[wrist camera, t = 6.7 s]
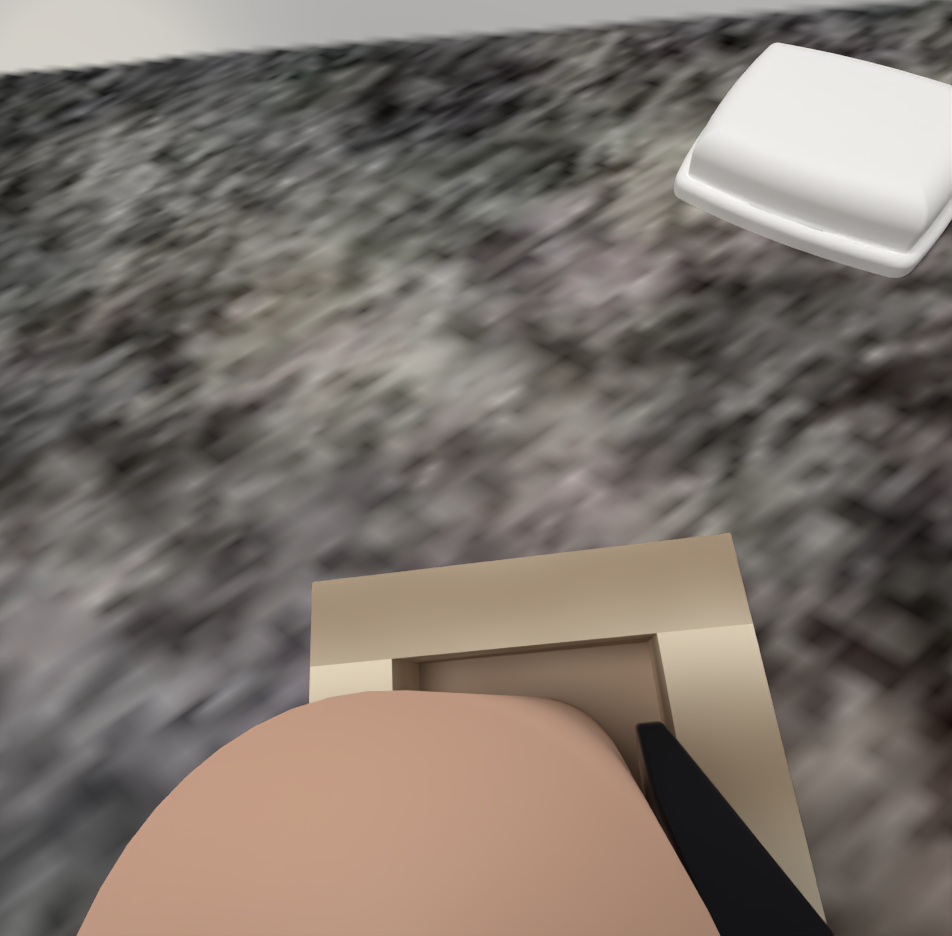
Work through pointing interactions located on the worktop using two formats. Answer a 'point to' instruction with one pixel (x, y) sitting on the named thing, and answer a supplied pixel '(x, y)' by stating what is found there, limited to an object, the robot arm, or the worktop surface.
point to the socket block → (585, 657)
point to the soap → (829, 159)
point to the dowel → (405, 830)
